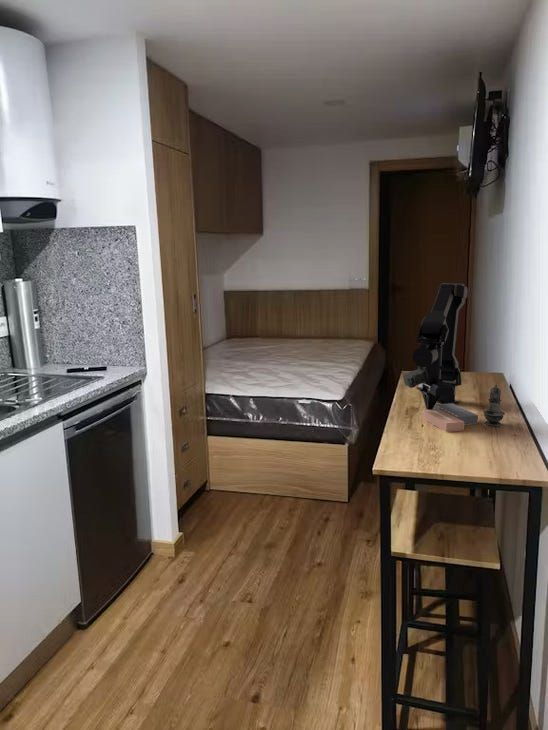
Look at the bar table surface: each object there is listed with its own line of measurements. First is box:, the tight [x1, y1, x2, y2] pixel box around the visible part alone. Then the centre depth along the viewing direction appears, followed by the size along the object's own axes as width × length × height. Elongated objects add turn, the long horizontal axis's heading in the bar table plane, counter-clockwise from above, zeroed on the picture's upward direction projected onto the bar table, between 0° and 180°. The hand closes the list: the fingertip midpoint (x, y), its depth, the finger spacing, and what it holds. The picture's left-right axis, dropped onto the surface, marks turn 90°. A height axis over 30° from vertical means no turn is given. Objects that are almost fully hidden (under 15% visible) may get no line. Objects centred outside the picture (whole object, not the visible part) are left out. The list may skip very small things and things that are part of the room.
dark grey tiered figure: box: [483, 384, 506, 428], centre depth 163 cm, size 6×6×12 cm
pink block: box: [421, 409, 465, 433], centre depth 164 cm, size 14×6×3 cm, turn 13°
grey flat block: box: [433, 403, 479, 426], centre depth 170 cm, size 14×7×3 cm, turn 13°
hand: (428, 411), depth 171 cm, fingers closed
